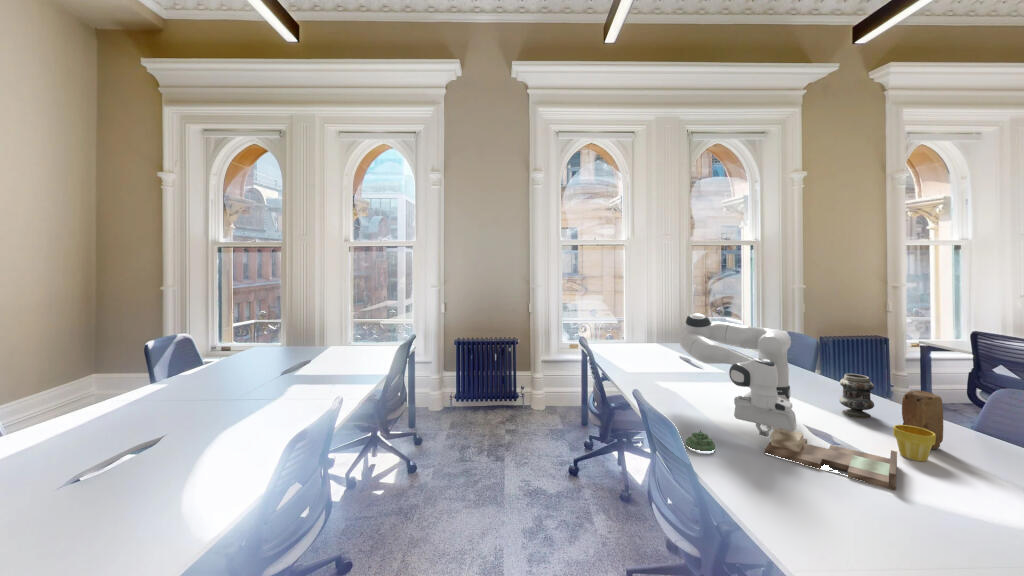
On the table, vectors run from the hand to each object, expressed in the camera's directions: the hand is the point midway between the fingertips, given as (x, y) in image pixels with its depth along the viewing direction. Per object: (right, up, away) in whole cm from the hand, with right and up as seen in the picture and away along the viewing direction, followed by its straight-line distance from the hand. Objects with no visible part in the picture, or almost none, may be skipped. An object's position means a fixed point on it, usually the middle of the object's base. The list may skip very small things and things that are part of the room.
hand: (763, 435), depth 149 cm
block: (+58, -2, -3) cm, 58 cm away
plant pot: (+45, -3, -13) cm, 47 cm away
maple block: (+5, -1, -5) cm, 8 cm away
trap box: (+14, -3, -14) cm, 20 cm away
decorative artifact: (-26, -4, -3) cm, 26 cm away
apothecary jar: (+61, -1, +28) cm, 67 cm away
